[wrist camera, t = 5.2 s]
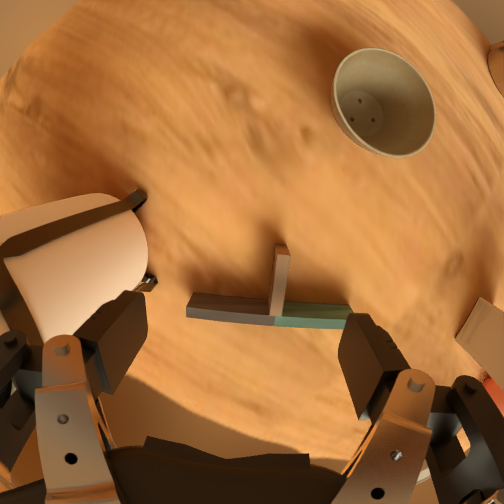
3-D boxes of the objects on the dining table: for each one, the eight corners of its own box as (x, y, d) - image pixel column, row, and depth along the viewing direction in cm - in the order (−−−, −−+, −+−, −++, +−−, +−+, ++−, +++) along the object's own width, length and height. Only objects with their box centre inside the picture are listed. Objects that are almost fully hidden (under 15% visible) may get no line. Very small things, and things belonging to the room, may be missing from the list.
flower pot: (392, 171, 26) (428, 174, 19) (306, 143, 25) (322, 134, 19) (405, 91, 23) (440, 76, 16) (323, 59, 23) (342, 31, 16)
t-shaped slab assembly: (194, 236, 28) (186, 245, 25) (361, 253, 29) (373, 263, 25) (193, 301, 31) (186, 317, 27) (346, 314, 31) (355, 329, 27)
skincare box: (469, 345, 33) (515, 397, 18) (452, 338, 32) (503, 396, 18) (494, 303, 30) (549, 347, 16) (480, 292, 30) (541, 339, 16)
